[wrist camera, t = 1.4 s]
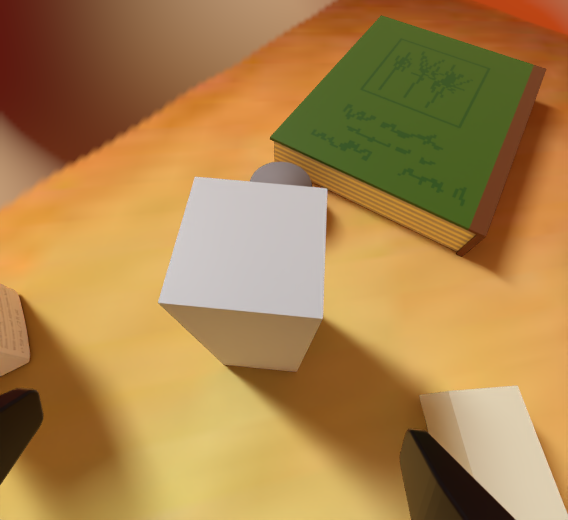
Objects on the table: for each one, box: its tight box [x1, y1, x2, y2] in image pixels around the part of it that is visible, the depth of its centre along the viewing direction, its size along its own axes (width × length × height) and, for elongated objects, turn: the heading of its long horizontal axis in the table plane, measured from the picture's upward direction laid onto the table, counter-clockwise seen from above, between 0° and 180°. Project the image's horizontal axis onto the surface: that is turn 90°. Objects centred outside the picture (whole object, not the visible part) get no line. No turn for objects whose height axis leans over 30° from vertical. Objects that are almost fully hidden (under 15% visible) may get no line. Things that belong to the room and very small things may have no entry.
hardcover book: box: [270, 15, 546, 257], centre depth 31 cm, size 25×19×4 cm
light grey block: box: [158, 177, 327, 372], centre depth 16 cm, size 5×5×13 cm
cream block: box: [419, 386, 568, 520], centre depth 17 cm, size 6×4×4 cm, turn 4°
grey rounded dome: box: [250, 162, 312, 187], centre depth 26 cm, size 5×5×3 cm
